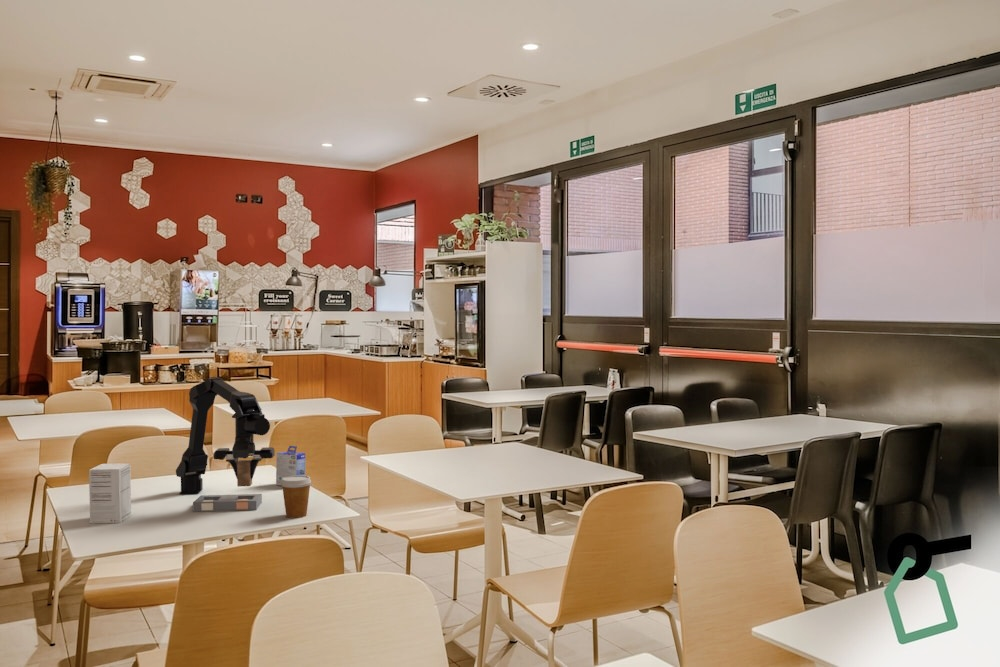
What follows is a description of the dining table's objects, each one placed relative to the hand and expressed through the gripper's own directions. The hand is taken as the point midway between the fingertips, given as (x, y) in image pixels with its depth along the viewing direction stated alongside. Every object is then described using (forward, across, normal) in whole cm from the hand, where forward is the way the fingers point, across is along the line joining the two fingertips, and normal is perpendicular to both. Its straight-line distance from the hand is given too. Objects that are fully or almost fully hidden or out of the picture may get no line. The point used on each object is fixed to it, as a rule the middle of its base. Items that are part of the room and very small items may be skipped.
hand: (244, 479), depth 269 cm
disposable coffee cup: (+9, +19, -14) cm, 25 cm away
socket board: (+9, -5, 0) cm, 11 cm away
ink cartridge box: (+10, +11, +32) cm, 35 cm away
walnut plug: (+2, 0, 0) cm, 2 cm away
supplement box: (+10, -38, -12) cm, 41 cm away
